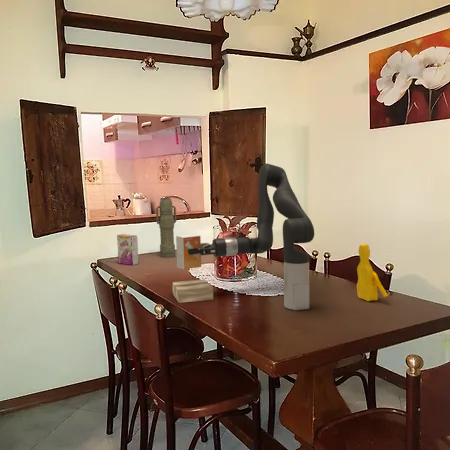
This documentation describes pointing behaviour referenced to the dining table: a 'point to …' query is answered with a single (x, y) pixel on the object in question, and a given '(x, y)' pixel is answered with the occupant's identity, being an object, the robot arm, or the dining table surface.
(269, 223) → the robot arm
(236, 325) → the dining table surface
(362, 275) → the figure statuette
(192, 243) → the small box
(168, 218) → the thermos
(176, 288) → the birch block
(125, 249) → the candy bar box
